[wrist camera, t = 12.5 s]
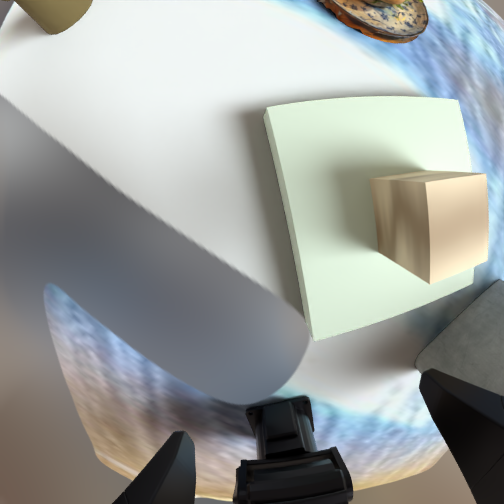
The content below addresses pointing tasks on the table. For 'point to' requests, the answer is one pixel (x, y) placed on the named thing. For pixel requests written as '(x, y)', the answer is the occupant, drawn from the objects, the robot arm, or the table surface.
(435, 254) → the birch block
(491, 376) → the hip flask
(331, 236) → the plinth
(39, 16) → the cork
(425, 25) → the burger
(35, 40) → the table surface
